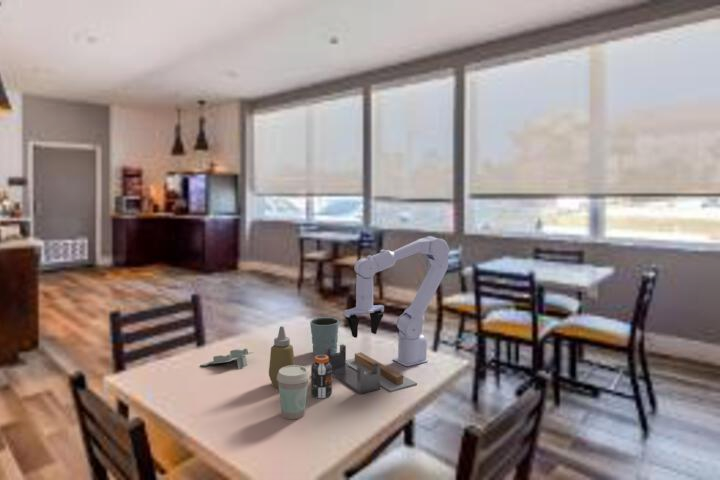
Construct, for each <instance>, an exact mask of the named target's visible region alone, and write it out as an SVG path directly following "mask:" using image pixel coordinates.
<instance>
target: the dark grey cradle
mask: <svg viewBox="0 0 720 480" xmlns="http://www.w3.org/2000/svg"><path fill="white" fill-rule="evenodd" d="M346 353H347V347H346V345H345V344H344V343H342V344H339V352H337V353H334V354H331V349H330V348H328V347H327V348H325V355H327V356H328V357H329V363H330V364H331V365H332V377H334V378H335V379H337V380H339V381H340V382H341V383H343V384H345V385H346V386H347V387H348V388H350V389H351V390H353V391H355V392H356V393H357V394H359V395H363V394H366V393H371V392H375V391H376V392H377V391H379V390H381V386H380V364H378V363H375V364H374V371H373V372H371V373H367V374H364V368H362V367H357V371H356V370H354V369H352V368H351V367H349V366H347V365H346V360H347V359H346V357H347V356H346V355H347V354H346Z"/></svg>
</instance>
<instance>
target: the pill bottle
mask: <svg viewBox="0 0 720 480" xmlns="http://www.w3.org/2000/svg"><path fill="white" fill-rule="evenodd" d="M310 369H311V370H310V371H311V373H310V375H311V376H310V394H311V396H312V397H313V398H316V399H326V398H329V397H331V395H333V391H332V390H333V389H332V388H333V385H332V384H333V383H332V382H333V375H332V365H331V364H330V363H329V357H328V356H327V355H317V356H315V355H314V362H313V363H312V364H311V367H310Z"/></svg>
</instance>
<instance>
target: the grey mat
mask: <svg viewBox="0 0 720 480" xmlns="http://www.w3.org/2000/svg"><path fill="white" fill-rule="evenodd" d="M346 366H347V367H349V368H351V369H352V370H354V371H355V372H357V367H362V368H364V374H367V373H371V372H373V371H372V370H370V369H368V368H366V367H365V366H363V365H361V364H360V363H358V362H356V361H355V357H354V358H350V359H346ZM417 385H418V382H416V381H414V380H412V379H410V378H409V377H407V376H405V375H403V384H399V385H395V384H394V383H392V382H390V381H389V380H387V379H385V378H383V377H382V376H380V387H382V388H383V389H385V390H387V392H390V393H392V392H396V391H398V390H404V389H407V388H410V387H414V386H417Z"/></svg>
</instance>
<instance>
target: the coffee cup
mask: <svg viewBox="0 0 720 480" xmlns="http://www.w3.org/2000/svg"><path fill="white" fill-rule="evenodd" d="M309 379H311V376H310V373H309V370H308V368H307V367H306V366H303V365H296V364H295V365H290V366H285V367H283V368H281V369H280V370H279V372H278V374H277V380H278V386H279V388H278V394H279V399H280V407H281V415H282V417H283V418H284V419H285V420H298V419H301V418H303V417H304V415H305V414H306V413H305V411H306V405H307V404H306V401H307V394H308V387H309Z"/></svg>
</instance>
